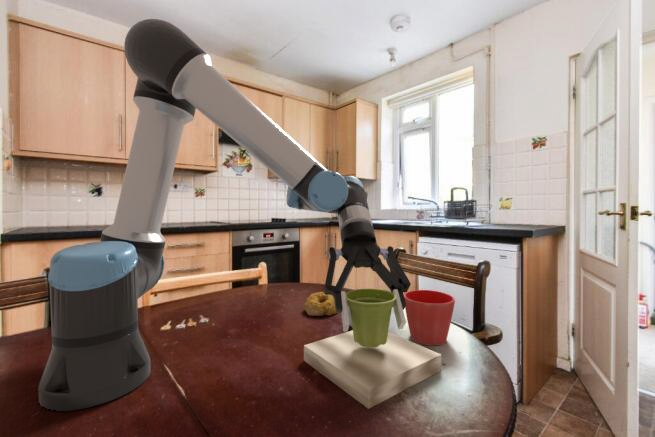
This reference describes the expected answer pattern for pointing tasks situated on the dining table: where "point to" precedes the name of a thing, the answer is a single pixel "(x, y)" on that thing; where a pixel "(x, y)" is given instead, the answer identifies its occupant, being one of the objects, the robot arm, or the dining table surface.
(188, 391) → the dining table surface
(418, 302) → the flower pot
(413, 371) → the plinth
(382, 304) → the plant pot
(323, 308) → the bagel
